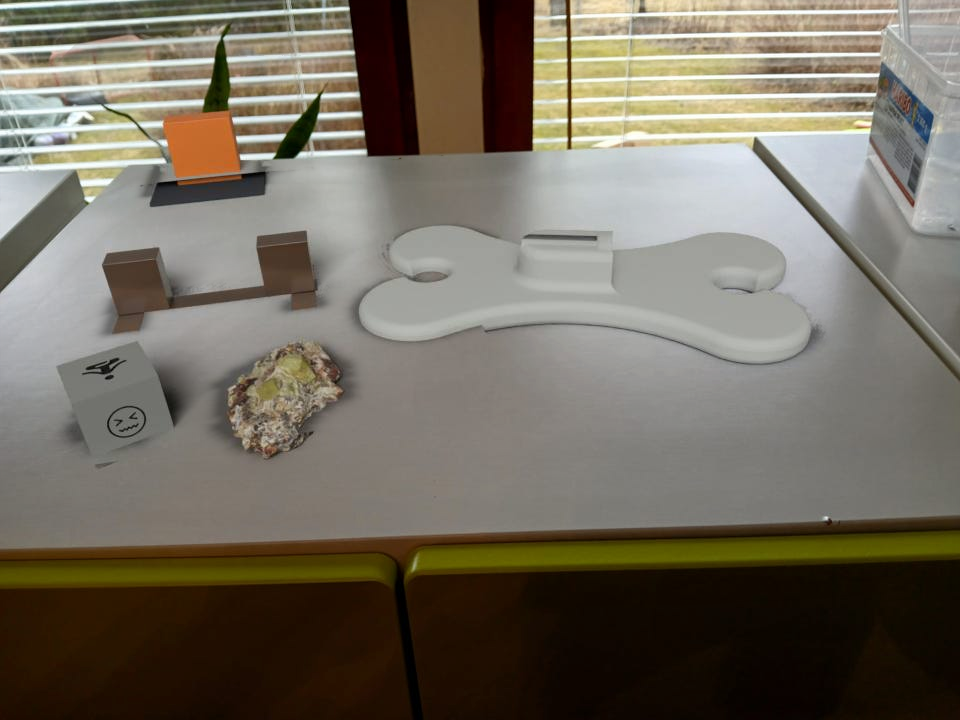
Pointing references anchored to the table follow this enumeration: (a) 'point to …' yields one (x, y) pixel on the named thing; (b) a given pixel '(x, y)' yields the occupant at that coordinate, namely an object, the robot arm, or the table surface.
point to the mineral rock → (282, 397)
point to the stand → (147, 289)
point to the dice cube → (115, 398)
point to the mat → (208, 190)
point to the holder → (593, 289)
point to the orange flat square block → (203, 146)
